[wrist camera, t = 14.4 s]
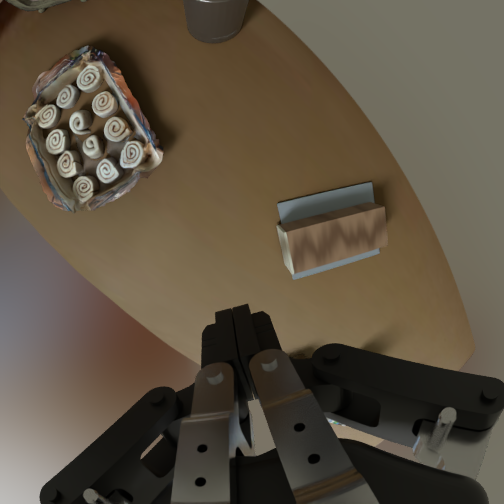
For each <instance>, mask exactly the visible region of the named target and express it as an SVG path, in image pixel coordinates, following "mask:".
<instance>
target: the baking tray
mask: <svg viewBox="0 0 504 504" xmlns="http://www.w3.org/2000/svg"><path fill="white" fill-rule="evenodd" d="M76 79H77V85H78V87H79V88H80V89H81V90H82V91H84V92H86V93H90V92H93V91H95V90H97V89H98V88H99V87H100V86H101V84H102V82H103V81H104V80H106V82H107V83H108V85H109V86H110V88H111V90H112V93H113V94H110V93H109V92H108V91H105V92H102V93H100V94H98V95H97V96H96V97H95V98H94V100H93V102H92V108H93V111H94V112H95V113H96V114H97V115H98V116H100V117H102V118H105V117H108V116H110V115H112V114H114V113H115V112H116V111H117V110H118V103H119V104H120V106H121V107H122V109H123V111H124V113H125V115H126V116H127V119H128V120H129V122H130V124H131V126H132V127H133V129H134V130H135V131H136V135H135V136H134V138H136V139H138V141H130V142H129V141H127V142H126V141H125V142H126V143H125V142H121V141H124V140H128V138H129V136H131V135H132V134H133V131H132V129H131V128H130V126H129V124H128V123H127V121H125V120H124V119H123V118H121V117H112V118H110V119H109V120H108V121H107V123H106V125H105V128H104V135H103V137H104V138H105V139H106V141H107V142H108V144H107V149H108V150H107V153H109V155H111V156H112V157H110V158H107V159H103V160H99V161H94V160H91V159H90V158H93V159H98V158H100V157H102V156H103V155H104V145H103V142H102V141H103V139H101V138H100V137H98V136H97V135H92V136H90V137H88V138H87V139H86V140H85V141H84V143H82V141H80V140H79V138H78V137H77V136H76V135H75V134H87V133H91V131H90V130H88V129H87V128H88V127H90V126H91V125H92V117H91V113H90V112H89V111H87V110H78V111H76V112H74V113H73V114H72V116H71V118H70V122H69V123H70V128H71V130H72V131H73V135H75V139H76V142H77V148H78V150H79V152H80V154H81V156H82V160H83V164H84V169H83V166H82V164H81V159H80V155H79V153H78V152H77V151H76V150H72V151H69V149H70V137H69V132H68V131H67V130H65V129H64V130H63V129H55V130H53V131H52V132H51V133H50V134H49V135H48V137H47V139H46V138H44V137H43V130H42V129H43V128H46V129H47V128H52V127H54V126H55V125H56V124H57V123H58V121H59V120H60V117H61V108H65V109H69V108H71V107H73V106H74V105H75V104H76V102H77V101H78V99H79V96H80V90H79V88H77V87H75V86H74V85H71V84H72V83H73V82H74V81H75V80H76ZM32 92H33V94H34V101H33V104H32V105H31V107H29V109H28V110H27V111H26V113H25V115H24V118H23V120H24V121H25V122H27V126H29V130H28V135H27V139H26V149H28V150H27V152H28V154H29V155H30V161H32V164H33V166H34V169H35V170H36V173H37V175H38V177H39V178H40V184H42V186H43V191H44V192H45V193H46V194H47V195H48V200H49V201H50V202H51V203H53V204H54V206H56V208H57V207H59V208H60V209H63V210H64V211H72V213H76V211H77V210H81V211H86V210H95V209H96V208H98V207H101V206H105V203H108V202H110V201H114V200H115V199H117V198H119V197H121V196H122V195H123V194H125V193H126V192H130V189H131V188H132V187H133V186H135V184H136V183H137V181H138V180H139V179H140V178H143V177H145V178H148V177H149V176H150V175H151V174H152V172H153V171H154V170H155V169H156V168H157V166H158V165H159V164H160V162H161V161H162V154H163V153H164V151H163V147H162V146H161V145H160V144H159V139H156V138H155V136H156V134H155V133H154V131H152V129H150V125H149V123H148V121H147V119H146V117H145V116H144V115H143V113H142V111H141V109H140V107H139V104H138V102H137V100H136V99H135V98H134V97H133V96H132V93H131V92H130V89H129V88H127V85H126V83H125V80H124V78H123V76H121V71H120V70H119V68H118V69H117V65H116V64H115V62H113V61H111V60H110V58H109V55H107V54H106V53H104V52H103V51H101V50H96V49H95V48H94V47H93V46H90V47H89V46H86V47H82V48H81V49H80V50H75V51H74V52H73V53H71V54H68V55H65V56H64V57H63V58H61V59H60V61H58V62H57V63H56V64H55V65H54V66H53V68H52V69H51V70H50V71H47V72H43V73H42V74H41V75H39V77H38V79H37V80H36V82H35V84H34V86H33V88H32ZM57 96H58V98H57V105H58V106H59V107H61V108H59V107H58V106H56V105H49V104H50V103H51V102H52V101H53V100H54V99H55V98H56V97H57ZM59 154H62V155H61V156H60V158H58V155H59ZM86 172H88V173H89V175H88V176H85V175H86ZM75 175H79V178H77V179H76V180H75V182H73V180H72V178H71V177H73V176H75Z"/></svg>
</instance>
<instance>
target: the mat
mask: <svg viewBox="0 0 504 504" xmlns="http://www.w3.org/2000/svg"><path fill="white" fill-rule="evenodd" d="M367 202H372V203H375V202H374V194H373V187H372V182H368V183H363V184H359V185H354V186H350V187H345V188H341V189H336V190H332V191H327V192H323V193H319V194H314V195H310V196H306V197H302V198H298V199H294V200H289V201H285V202H281V203H277V206H278V210H279V215H280V219H281V224H284V223H288V222H292V221H295V220H299V219H303V218H307V217H311V216H315V215H319V214H323V213H327V212H331V211H335V210H339V209H343V208H347V207H351V206H355V205H359V204H363V203H367ZM376 254H379V248H378V249H375V250H372V251H369V252H366V253H363V254H359V255H356V256H353V257H350V258H346V259H343V260H340V261H336V262H333V263H330V264H326V265H323V266H320V267H316V268H313V269H309V270H306V271H303V272H299V273H296V274H292V277H293V280H295V279H298V278H302V277H305V276H309V275H312V274H315V273H319V272H322V271H325V270H328V269H332V268H335V267H338V266H341V265H345V264H348V263H351V262H354V261H357V260H361V259H364V258H367V257H370V256H373V255H376Z"/></svg>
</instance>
